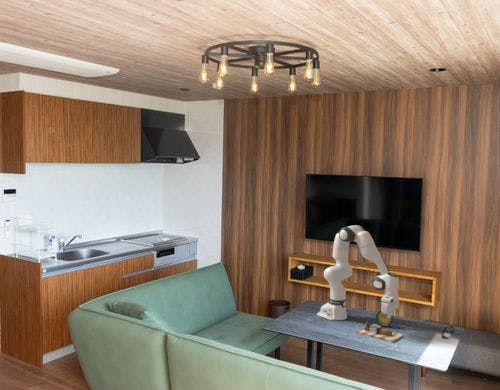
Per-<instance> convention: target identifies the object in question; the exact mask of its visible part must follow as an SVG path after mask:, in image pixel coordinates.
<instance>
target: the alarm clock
mask: <svg viewBox="0 0 500 390" xmlns="http://www.w3.org/2000/svg"><path fill="white" fill-rule="evenodd" d="M375 317H376V321H377V323H378V325H381V326H382V327H387V326H389V327H390V328H392V326H391V323H393V320H394V315H393V314H392V317H391V318H388V314H383V313H382V312H381V309H380V310H379V311H378V312H377V313H376V316H375Z"/></svg>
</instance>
